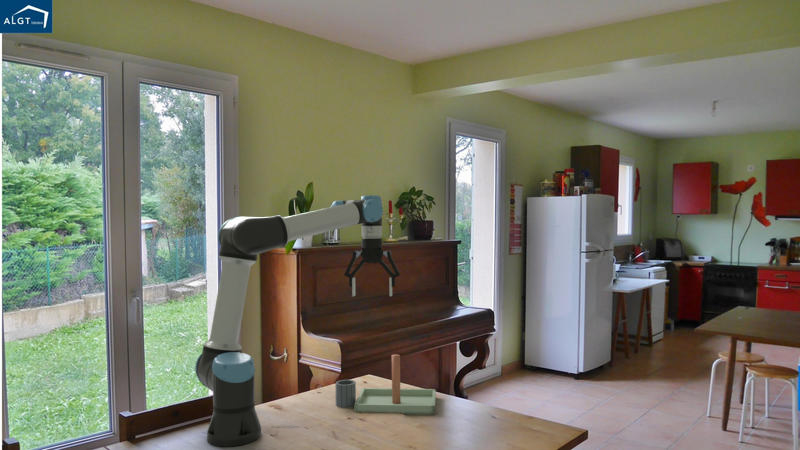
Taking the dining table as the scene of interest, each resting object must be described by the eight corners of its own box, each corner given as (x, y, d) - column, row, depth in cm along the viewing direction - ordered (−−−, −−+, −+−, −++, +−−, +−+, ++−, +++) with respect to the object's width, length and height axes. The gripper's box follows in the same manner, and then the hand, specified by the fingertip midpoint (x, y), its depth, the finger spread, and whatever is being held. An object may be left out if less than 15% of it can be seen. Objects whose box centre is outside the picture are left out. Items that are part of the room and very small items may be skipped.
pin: (392, 405, 192) (381, 358, 192) (393, 403, 195) (382, 356, 195) (409, 402, 192) (399, 354, 192) (410, 399, 195) (399, 352, 195)
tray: (354, 413, 185) (354, 404, 185) (362, 396, 203) (362, 388, 203) (434, 414, 184) (434, 405, 184) (435, 397, 202) (435, 389, 201)
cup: (334, 409, 190) (334, 385, 190) (337, 402, 196) (337, 379, 196) (354, 409, 189) (353, 385, 189) (357, 403, 196) (356, 379, 196)
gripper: (336, 238, 207) (336, 297, 207) (405, 237, 205) (405, 297, 205) (339, 237, 214) (340, 294, 214) (406, 237, 212) (407, 294, 212)
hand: (372, 295), depth 210 cm, fingers open, 13 cm apart
